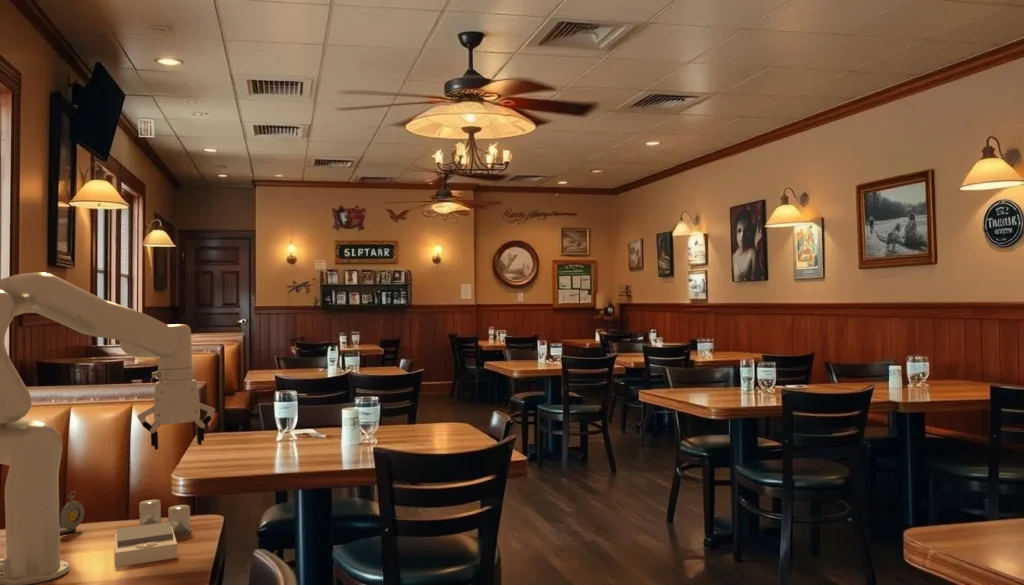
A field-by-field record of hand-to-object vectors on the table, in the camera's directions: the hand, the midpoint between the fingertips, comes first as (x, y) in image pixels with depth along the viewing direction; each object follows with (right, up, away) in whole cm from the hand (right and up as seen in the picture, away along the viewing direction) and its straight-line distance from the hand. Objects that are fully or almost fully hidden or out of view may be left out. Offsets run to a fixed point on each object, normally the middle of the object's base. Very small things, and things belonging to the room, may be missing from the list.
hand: (178, 446), depth 195 cm
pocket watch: (-29, -22, +3) cm, 36 cm away
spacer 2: (0, -21, 0) cm, 21 cm away
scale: (-1, -21, -15) cm, 26 cm away
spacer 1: (-9, -21, +6) cm, 24 cm away
